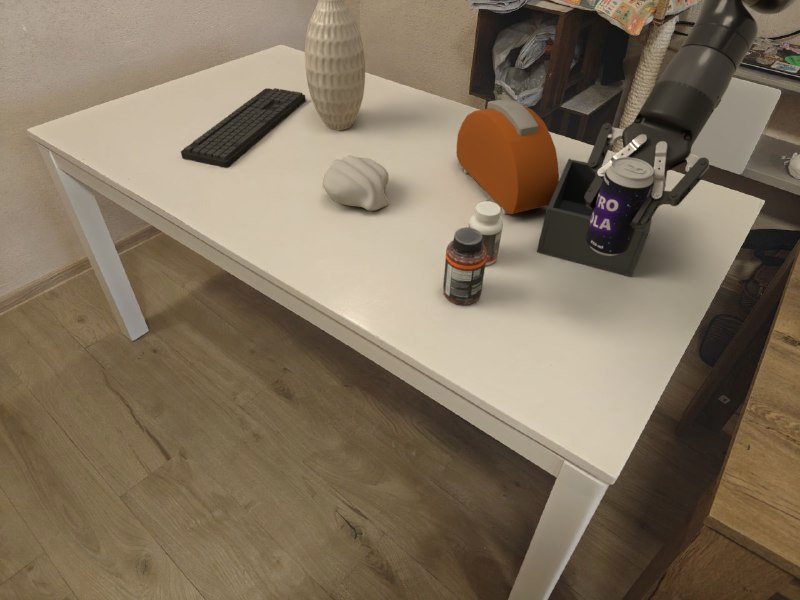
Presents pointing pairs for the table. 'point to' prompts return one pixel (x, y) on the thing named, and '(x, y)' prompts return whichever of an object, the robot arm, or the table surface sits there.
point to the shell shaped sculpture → (357, 182)
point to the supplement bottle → (464, 267)
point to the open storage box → (582, 225)
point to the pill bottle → (488, 227)
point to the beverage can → (619, 205)
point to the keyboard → (243, 128)
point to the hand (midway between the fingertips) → (611, 216)
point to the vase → (335, 64)
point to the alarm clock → (509, 155)
